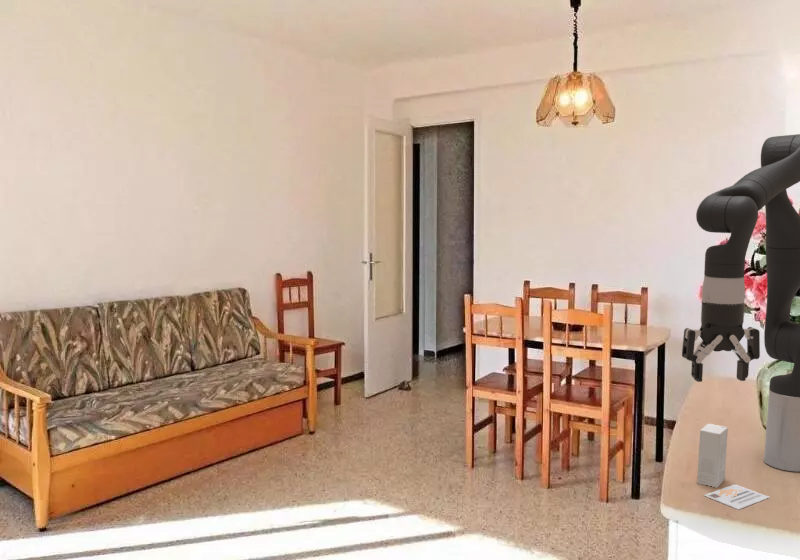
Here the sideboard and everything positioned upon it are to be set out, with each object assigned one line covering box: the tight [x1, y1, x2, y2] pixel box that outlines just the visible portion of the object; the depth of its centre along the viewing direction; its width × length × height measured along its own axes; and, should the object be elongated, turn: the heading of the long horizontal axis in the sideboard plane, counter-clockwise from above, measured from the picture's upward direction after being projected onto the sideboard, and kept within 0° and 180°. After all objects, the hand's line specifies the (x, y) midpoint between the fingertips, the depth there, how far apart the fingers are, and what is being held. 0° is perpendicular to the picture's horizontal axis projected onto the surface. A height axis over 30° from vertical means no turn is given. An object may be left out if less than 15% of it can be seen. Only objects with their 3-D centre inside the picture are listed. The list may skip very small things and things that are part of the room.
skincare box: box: [696, 423, 729, 489], centre depth 147 cm, size 6×4×12 cm
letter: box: [703, 484, 771, 511], centre depth 140 cm, size 11×8×1 cm
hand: (719, 380), depth 135 cm, fingers open, 8 cm apart
